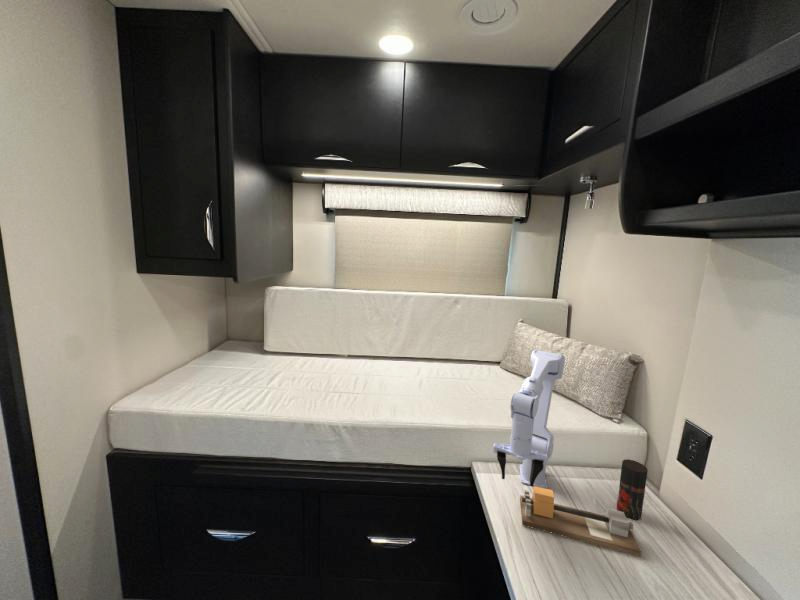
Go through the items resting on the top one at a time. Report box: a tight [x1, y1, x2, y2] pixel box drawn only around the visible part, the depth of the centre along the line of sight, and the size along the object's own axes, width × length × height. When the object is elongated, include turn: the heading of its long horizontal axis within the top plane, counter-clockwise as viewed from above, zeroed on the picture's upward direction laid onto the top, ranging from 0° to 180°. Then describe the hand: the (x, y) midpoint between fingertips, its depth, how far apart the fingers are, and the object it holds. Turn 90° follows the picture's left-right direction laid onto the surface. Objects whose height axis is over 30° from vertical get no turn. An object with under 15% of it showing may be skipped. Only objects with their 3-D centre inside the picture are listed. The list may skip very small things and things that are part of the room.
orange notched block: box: [531, 486, 555, 518], centre depth 88 cm, size 4×5×6 cm
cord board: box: [519, 490, 642, 557], centre depth 86 cm, size 10×28×6 cm, turn 72°
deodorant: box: [616, 458, 649, 521], centre depth 91 cm, size 6×6×15 cm
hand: (517, 480), depth 89 cm, fingers open, 7 cm apart
